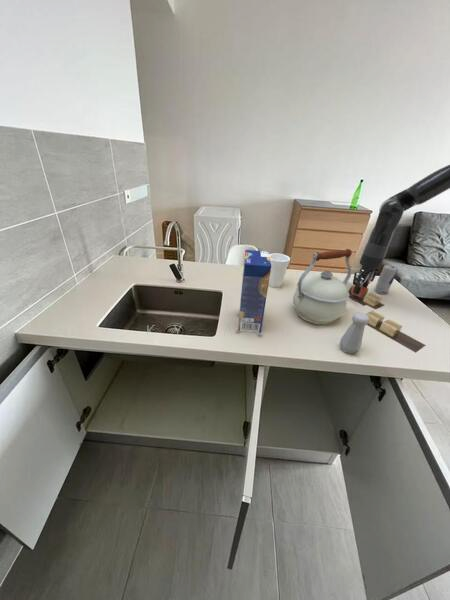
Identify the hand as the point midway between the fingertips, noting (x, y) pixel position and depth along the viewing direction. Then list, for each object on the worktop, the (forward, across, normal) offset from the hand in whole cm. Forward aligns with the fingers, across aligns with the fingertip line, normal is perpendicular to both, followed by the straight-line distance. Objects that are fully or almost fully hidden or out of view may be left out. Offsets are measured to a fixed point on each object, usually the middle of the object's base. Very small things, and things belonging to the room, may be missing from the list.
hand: (359, 292), depth 103 cm
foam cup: (+3, -24, +26) cm, 35 cm away
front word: (+3, -13, -20) cm, 24 cm away
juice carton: (+3, -52, +8) cm, 52 cm away
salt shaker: (+3, -33, -18) cm, 38 cm away
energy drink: (+3, +15, -2) cm, 15 cm away
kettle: (+3, -25, 0) cm, 25 cm away
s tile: (+1, 0, 0) cm, 1 cm away
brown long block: (+3, 0, 0) cm, 3 cm away
